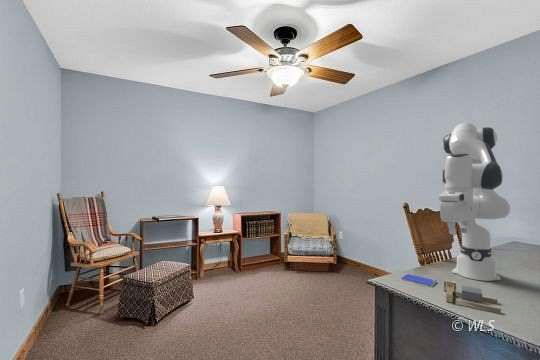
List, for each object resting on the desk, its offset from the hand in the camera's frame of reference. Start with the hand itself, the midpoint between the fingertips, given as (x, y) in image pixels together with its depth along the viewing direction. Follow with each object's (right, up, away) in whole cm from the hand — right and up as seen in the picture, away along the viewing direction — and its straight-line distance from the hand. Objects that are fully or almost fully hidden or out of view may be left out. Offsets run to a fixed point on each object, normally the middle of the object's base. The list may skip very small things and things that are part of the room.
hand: (458, 233), depth 103 cm
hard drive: (-2, -27, +24) cm, 37 cm away
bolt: (+2, -26, +8) cm, 28 cm away
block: (+6, -27, +2) cm, 27 cm away
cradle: (+7, -26, +4) cm, 28 cm away
